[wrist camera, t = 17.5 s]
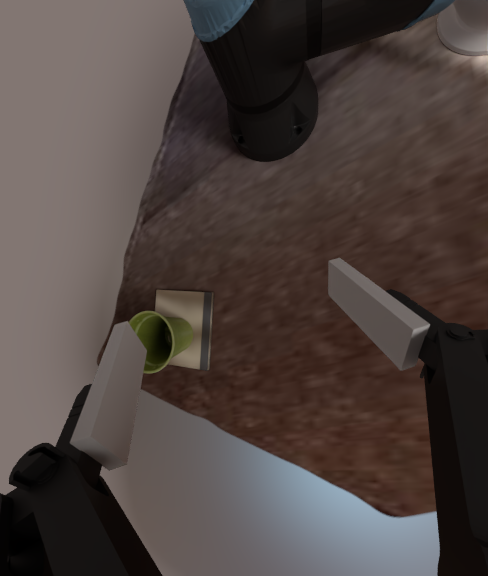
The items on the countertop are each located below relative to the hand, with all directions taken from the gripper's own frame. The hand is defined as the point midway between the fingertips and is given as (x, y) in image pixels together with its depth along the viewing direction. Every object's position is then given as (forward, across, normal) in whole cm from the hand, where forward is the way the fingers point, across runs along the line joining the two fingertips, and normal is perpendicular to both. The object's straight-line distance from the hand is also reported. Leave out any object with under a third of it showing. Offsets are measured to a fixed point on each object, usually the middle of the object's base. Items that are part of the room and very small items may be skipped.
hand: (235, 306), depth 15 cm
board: (+23, -10, -19) cm, 32 cm away
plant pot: (+22, -11, -20) cm, 32 cm away
